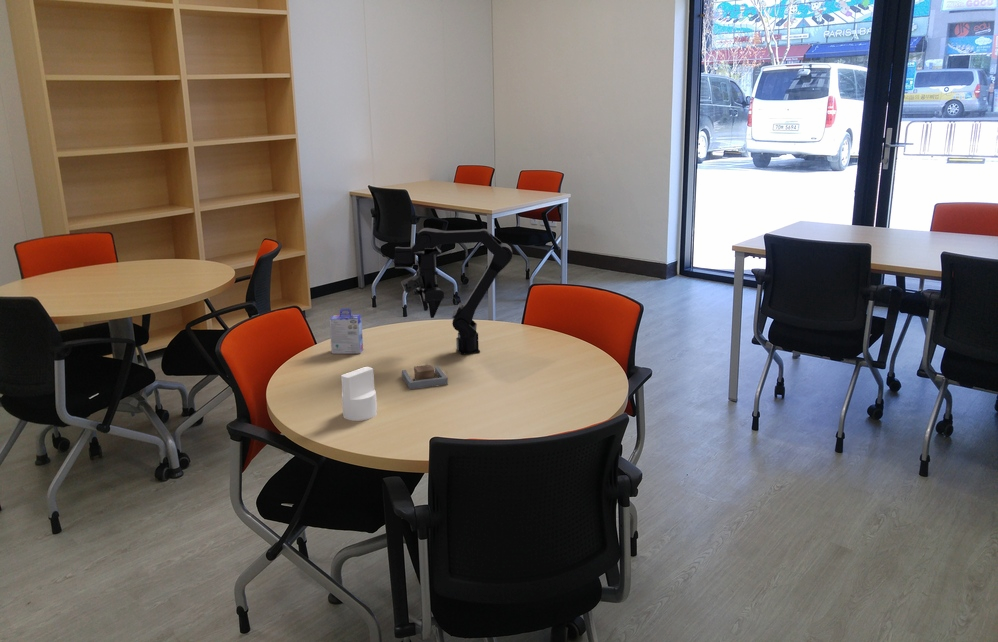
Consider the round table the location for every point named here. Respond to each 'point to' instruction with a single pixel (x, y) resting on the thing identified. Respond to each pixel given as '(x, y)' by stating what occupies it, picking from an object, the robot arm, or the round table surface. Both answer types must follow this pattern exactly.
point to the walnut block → (423, 372)
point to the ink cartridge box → (346, 333)
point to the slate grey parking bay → (426, 380)
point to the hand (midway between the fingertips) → (428, 314)
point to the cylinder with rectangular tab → (359, 394)
